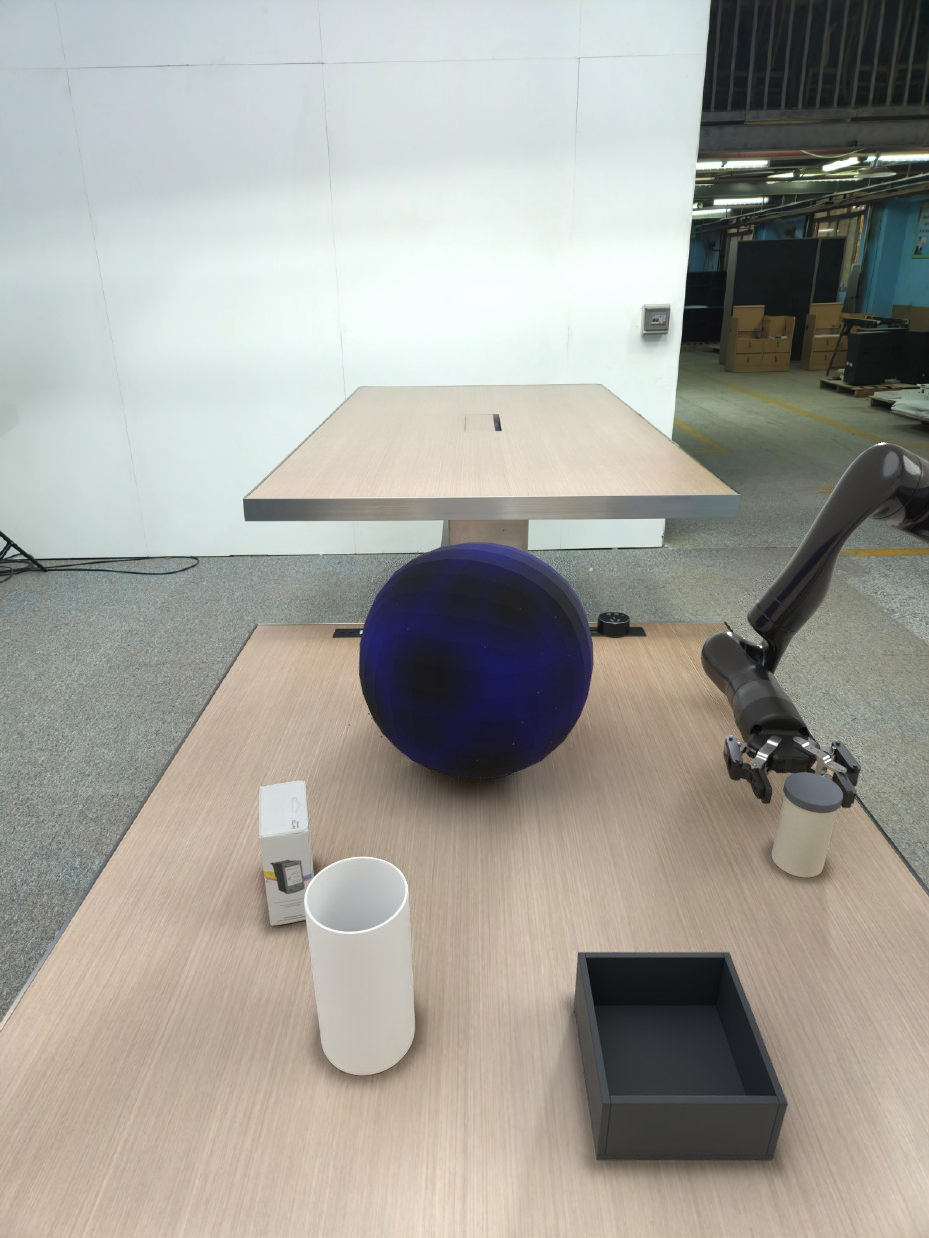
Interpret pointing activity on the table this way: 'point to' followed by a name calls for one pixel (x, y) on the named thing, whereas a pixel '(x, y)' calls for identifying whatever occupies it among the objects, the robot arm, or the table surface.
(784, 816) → the container
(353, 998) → the cup
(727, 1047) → the open storage box
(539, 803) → the table surface
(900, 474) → the robot arm
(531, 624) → the ball
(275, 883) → the ink box
